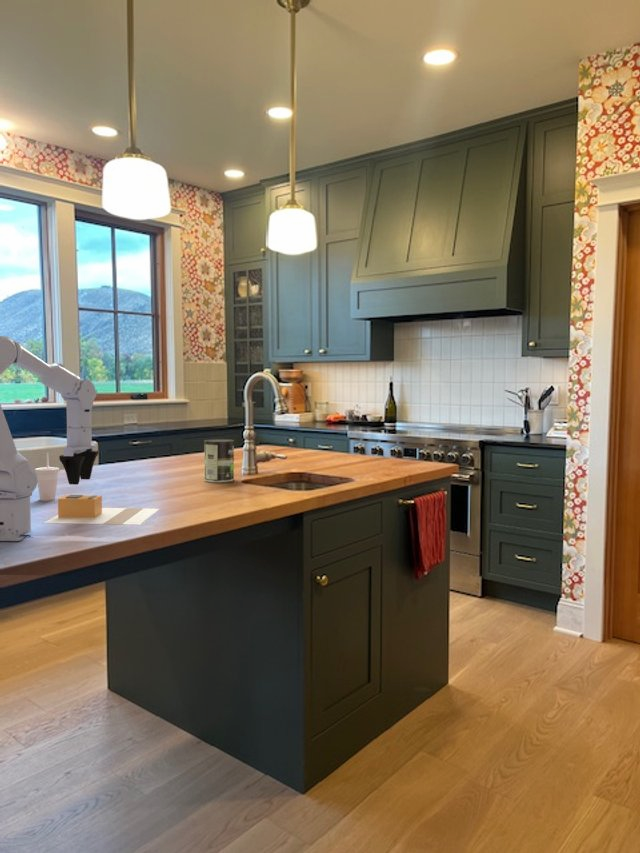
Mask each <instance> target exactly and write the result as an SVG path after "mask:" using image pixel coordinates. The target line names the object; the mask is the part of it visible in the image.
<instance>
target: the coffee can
mask: <svg viewBox="0 0 640 853" xmlns="http://www.w3.org/2000/svg"><path fill="white" fill-rule="evenodd" d="M203 441H204V442H203V443H204V480H203V481H204V482H206V481H207V483H213V484H214V483H215V484H217V483H219V484H221V483H222V482H223V483H230V482H234V481H233V480H235V478H234V477H235V476H234V474H235V472H234V469H235V468H234V467H235V465H234V462H235V461H234V460H235V453H234V452H235V451H234V450H235V446H234V444H235V440H234V439H229V438H228V439H227V438H226V439H225V438H211V439H204V440H203Z"/></svg>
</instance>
